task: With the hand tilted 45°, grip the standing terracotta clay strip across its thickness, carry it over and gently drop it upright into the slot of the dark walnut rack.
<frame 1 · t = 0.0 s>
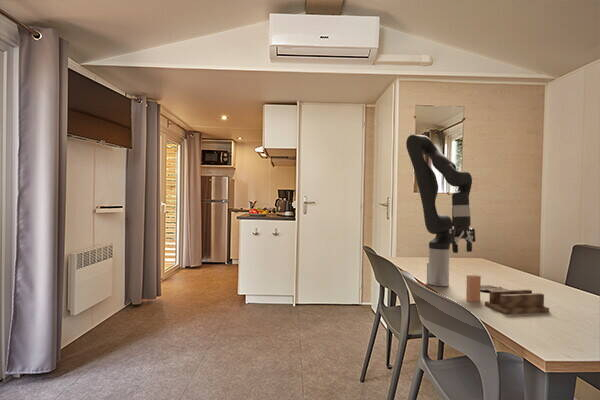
hand: (462, 252, 164), 17 cm above the table, tool pointing down, fingers open, 8 cm apart
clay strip: (473, 300, 149), on the table
walnut rack: (516, 308, 139), on the table
stone fragment: (504, 295, 162), on the table
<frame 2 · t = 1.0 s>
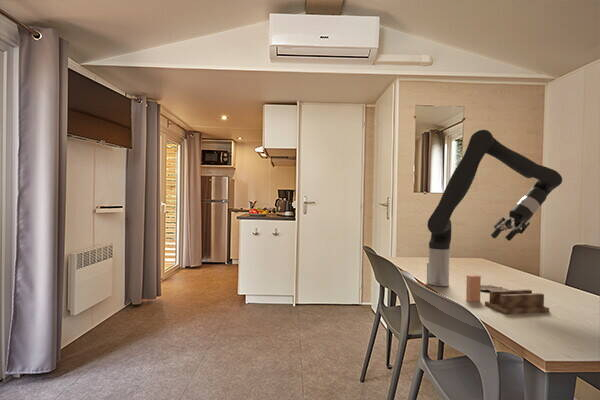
hand: (499, 238, 151), 25 cm above the table, tool tilted 45°, fingers open, 8 cm apart
nothing on the table moved.
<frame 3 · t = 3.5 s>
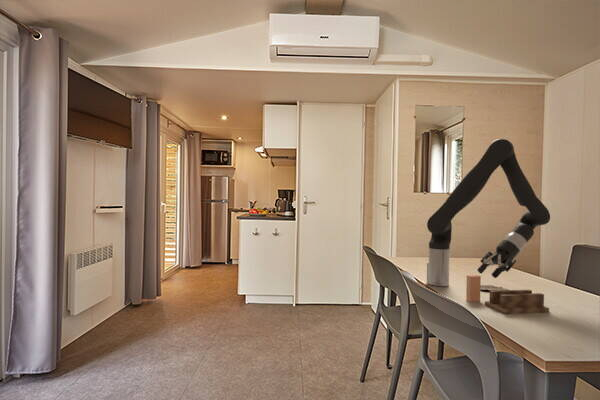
hand: (486, 274, 150), 10 cm above the table, tool tilted 45°, fingers open, 8 cm apart
nothing on the table moved.
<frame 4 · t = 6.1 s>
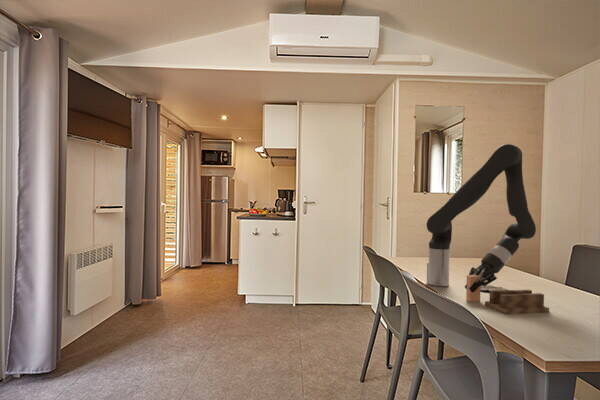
hand: (468, 289, 149), 4 cm above the table, tool tilted 45°, fingers closed on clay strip, 2 cm apart
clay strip: (473, 300, 149), on the table, touching gripper
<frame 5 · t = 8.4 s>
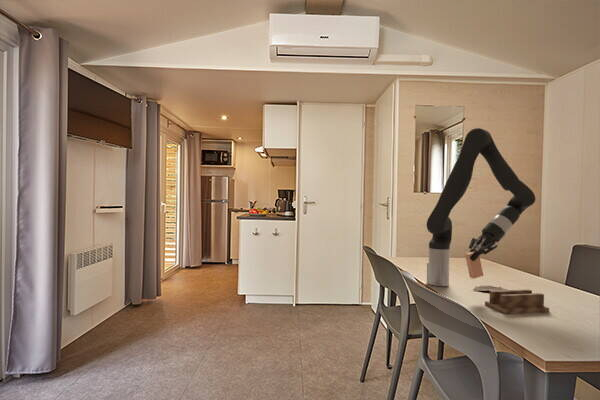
hand: (469, 258, 149), 17 cm above the table, tool tilted 45°, fingers closed on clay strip
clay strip: (476, 276, 149), point 10 cm above the table, tilted 14°, touching gripper
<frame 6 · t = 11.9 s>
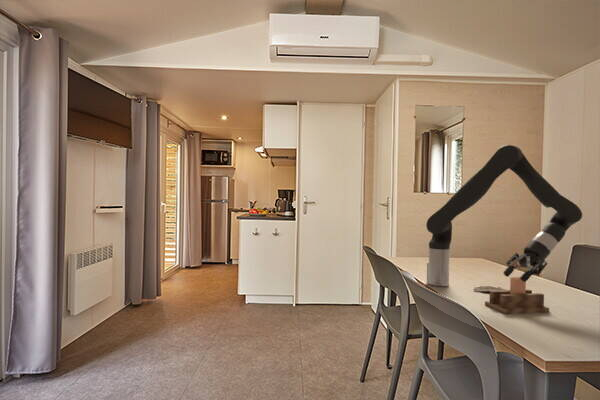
hand: (513, 277, 139), 12 cm above the table, tool tilted 45°, fingers open, 8 cm apart
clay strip: (517, 304, 139), point 1 cm above the table, touching walnut rack
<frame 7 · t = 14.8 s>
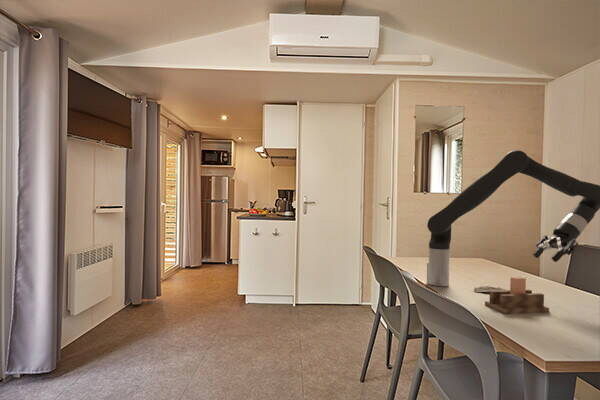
hand: (544, 258, 141), 19 cm above the table, tool tilted 45°, fingers open, 8 cm apart
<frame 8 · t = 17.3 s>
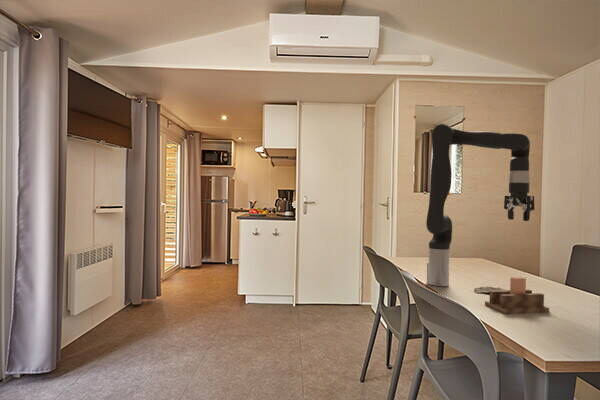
hand: (518, 220, 157), 32 cm above the table, tool pointing down, fingers open, 8 cm apart
at the end: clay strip inside the target area on the walnut rack (0.5 cm from its centre), point 1.5 cm above the walnut rack's base; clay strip tilted 0°; the gripper is holding nothing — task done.
